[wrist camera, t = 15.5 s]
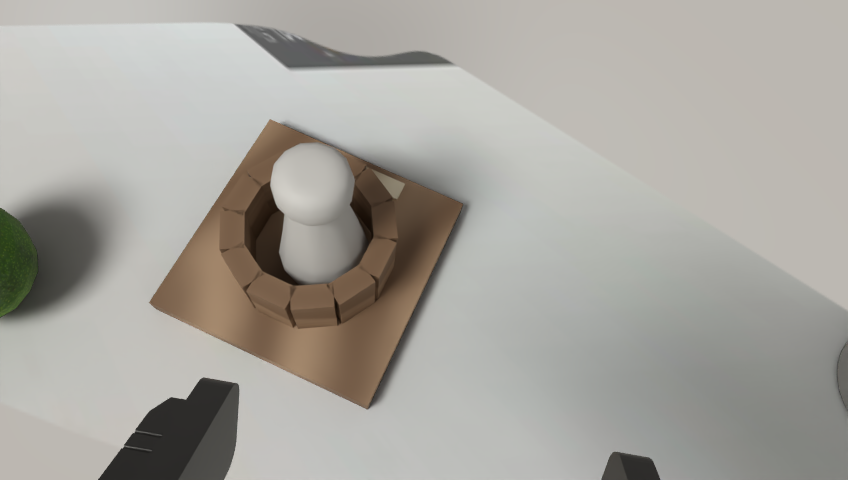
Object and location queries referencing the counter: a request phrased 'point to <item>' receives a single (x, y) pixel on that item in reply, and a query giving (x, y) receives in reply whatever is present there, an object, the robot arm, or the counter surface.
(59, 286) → the counter surface
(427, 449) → the counter surface
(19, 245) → the avocado
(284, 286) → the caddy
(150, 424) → the robot arm
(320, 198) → the salt shaker
